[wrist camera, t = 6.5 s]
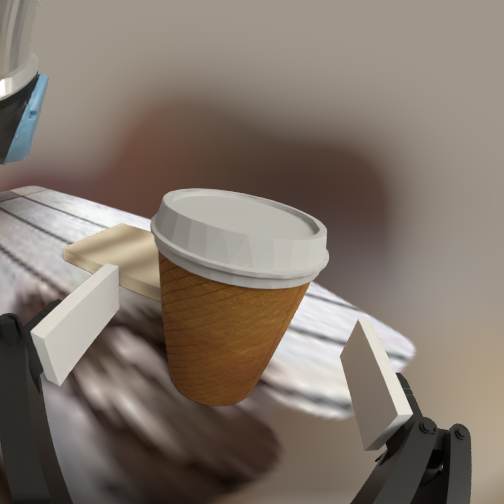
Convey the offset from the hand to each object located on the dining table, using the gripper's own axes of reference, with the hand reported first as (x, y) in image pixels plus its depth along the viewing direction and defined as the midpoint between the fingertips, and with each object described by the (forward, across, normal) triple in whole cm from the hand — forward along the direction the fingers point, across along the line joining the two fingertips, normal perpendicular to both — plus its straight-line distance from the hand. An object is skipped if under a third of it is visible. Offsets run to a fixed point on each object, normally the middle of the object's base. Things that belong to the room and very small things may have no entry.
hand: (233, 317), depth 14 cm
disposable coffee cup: (+2, 0, -7) cm, 7 cm away
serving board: (+16, -10, -7) cm, 20 cm away
